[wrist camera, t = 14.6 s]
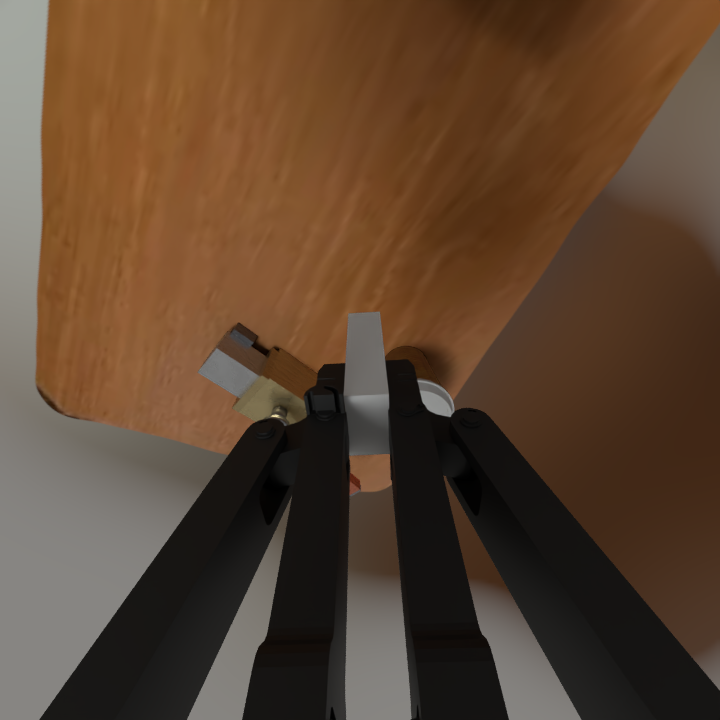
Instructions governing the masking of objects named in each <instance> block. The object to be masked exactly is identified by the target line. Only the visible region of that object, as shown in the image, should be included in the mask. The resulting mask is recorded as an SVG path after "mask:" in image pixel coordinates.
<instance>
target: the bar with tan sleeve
mask: <svg viewBox="0 0 720 720" xmlns="http://www.w3.org/2000/svg"><path fill="white" fill-rule="evenodd" d="M256 337H257V335H256V334H254V333H253V332H251V331H250V330H248V329H247V328H246V327H244V326H243V325H241V324H240V323H238V324H237V325H236V326H235V328H234V329H233V330H232V331H231V332H229V331H227V333H226V334H225V335H224V336H223V338H222V339H221V340H220V341H219V343H218V344H217V345H216V347H215V348H214V349H213V350H212V352H211V353H210V354H209V356H208V357H207V359H206V360H205V362H204V363H203V365H202V366H201V368H200V369H199V371H198V373H199V374H201V375H203V376H204V377H206V378H208V379H209V380H211V381H212V382H214V383H216V384H217V385H219V386H221V387H222V388H224V389H225V390H227V391H229V392H230V393H232V394H233V395H235V396H237V399H236V401H235V403H234V405H233V407H232V409H234V410H236V411H237V412H240V413H242V414H243V415H245V416H247V417H248V418H250V419H252V420H253V421H255V422H257V421H259V420H262V419H264V418H265V417H266V416H269V415H280V416H283V417H284V418H286V419H287V420H288V421H289V423H290V424H293V423H296V422H299V421H301V420H303V419H304V418H306V416H307V414H306V408H305V402H304V394H305V392H306V391H307V390H308V389H309V388H311V387H313V386H316V382H317V376H318V374H317V373H315V372H314V371H312V370H311V369H310V368H308V367H307V366H305V365H304V364H303V363H301V362H300V361H298V360H297V359H295V358H294V357H293V356H291V355H290V354H288V353H287V352H285V351H284V350H283V349H281V348H280V349H279V350H278V351H277V350H276V349H274V348H272V349H271V350H270V351H269V352H268V354H267V355H266V356H265V355H263V354H262V353H260V352H259V351H257V350H256V349H254V348H253V347H251V346H252V344H253V343H254V341H255V339H256Z"/></svg>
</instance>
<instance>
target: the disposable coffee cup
mask: <svg viewBox="0 0 720 720" xmlns="http://www.w3.org/2000/svg"><path fill="white" fill-rule="evenodd" d="M402 359H408V360H409V361H410V362H411V363H412V364H413V365H414V367H415V371H416V376H417V381H418V384H419V389H420V393H421V398H422V402H423V404H425V406H426V407H427V409H428V410H429V411H431V412H433V413H435V414H438V415H442V416H448V417H451V415H452V414H453V413H454V404H453V400H452V398H451V397H450V395H449V393H448V392H447V391H446V390H445V389H444V388H443V387H442V386H441V385H440V383H439V381H438V379H437V377H436V376H435V374H434V372H433V370H432V368H431V367H430V365H429V363H428V361H427V359H426V357H425V356H424V354H423V353H422V352H421V351H420V350H418V349H416V348H414V347H409V346H404V347H399V348H396V349H394V350H392V351H391V352H389V354H388V355H387V356H386V357H385V360H402Z"/></svg>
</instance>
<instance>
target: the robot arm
mask: <svg viewBox="0 0 720 720" xmlns="http://www.w3.org/2000/svg"><path fill="white" fill-rule="evenodd" d="M304 402H305V408H306V414H307V416H306V418H304V419H303V420H301V421H299V422H296V423H293V424H290V425H286V426H284V423H282V422H281V421H280V420H278V419H274V418H266V419H262V420H259V421H257V422H255V423H253V424H252V425H251V426H250V427H249V428H248V429H247V430H246V431H245V433H244V434H243V435H242V437H241V438H240V440H239V441H238V442H237V444H236V445H235V447H234V448H233V449H232V451H231V452H230V454H229V455H228V457H227V458H226V459H225V461H224V462H223V464H222V465H221V467H220V468H219V469H218V471H217V472H216V473H215V475H214V476H213V477H212V479H211V480H210V482H209V483H208V485H207V486H206V487H205V489H204V490H203V491H202V493H201V494H200V496H199V497H198V498H197V500H196V501H195V503H194V504H193V505H192V507H191V508H190V510H189V511H188V513H187V514H186V515H185V517H184V518H183V520H182V521H181V522H180V524H179V525H178V526H177V528H176V529H175V531H174V532H173V534H172V535H171V536H170V538H169V539H168V541H167V542H166V543H165V545H164V546H163V547H162V549H161V550H160V552H159V553H158V554H157V556H156V557H155V559H154V560H153V561H152V563H151V564H150V566H149V567H148V568H147V570H146V571H145V573H144V574H143V575H142V577H141V578H140V580H139V581H138V582H137V584H136V585H135V587H134V588H133V589H132V591H131V592H130V594H129V595H128V596H127V598H126V599H125V601H124V602H123V603H122V605H121V606H120V608H119V609H118V610H117V612H116V613H115V615H114V616H113V617H112V619H111V621H110V622H109V623H108V624H107V626H106V627H105V629H104V630H103V631H102V633H101V634H100V636H99V637H98V638H97V640H96V641H95V643H94V644H93V645H92V647H91V648H90V650H89V651H88V653H87V654H86V655H85V657H84V658H83V659H82V661H81V662H80V664H79V665H78V666H77V668H76V670H75V671H74V672H73V673H72V675H71V676H70V678H69V679H68V680H67V682H66V683H65V685H64V686H63V687H62V689H61V690H60V692H59V693H58V694H57V696H56V697H55V699H54V700H53V701H52V703H51V704H50V706H49V707H48V708H47V710H46V711H45V713H44V714H43V715H42V717H41V718H40V720H187V718H188V716H189V713H190V712H191V709H192V707H193V705H194V703H195V701H196V699H197V697H198V695H199V692H200V690H201V688H202V686H203V684H204V682H205V679H206V677H207V675H208V673H209V671H210V669H211V667H212V665H213V662H214V660H215V658H216V656H217V654H218V652H219V650H220V648H221V645H222V643H223V641H224V639H225V637H226V635H227V633H228V631H229V628H230V626H231V624H232V622H233V620H234V617H235V616H236V613H237V611H238V609H239V607H240V605H241V603H242V601H243V599H244V596H245V594H246V592H247V590H248V588H249V586H250V583H251V581H252V579H253V577H254V575H255V573H256V571H257V569H258V567H259V564H260V562H261V560H262V558H263V556H264V554H265V551H266V549H267V547H268V545H269V543H270V541H271V539H272V537H273V534H274V532H275V530H276V528H277V526H278V524H279V522H280V520H281V517H282V515H283V513H284V511H285V509H286V507H287V505H288V503H289V500H290V498H291V496H292V499H291V505H290V511H289V516H288V522H287V527H286V533H285V538H284V544H283V549H282V555H281V561H280V566H279V572H278V577H277V583H276V588H275V594H274V599H273V605H272V610H271V617H270V622H269V627H268V632H267V636H266V638H265V641H264V642H263V643H262V644H261V645H260V646H259V648H258V650H257V653H256V655H255V660H254V664H253V668H252V673H251V678H250V683H249V688H248V693H247V698H246V703H245V708H244V713H243V719H242V720H346V704H345V663H346V622H347V580H348V537H349V497H350V460H349V453H350V456H351V455H374V454H390V470H391V480H392V489H393V501H394V511H395V523H396V535H397V546H398V558H399V569H400V580H401V592H402V603H403V613H404V625H405V637H406V648H407V660H408V671H409V683H410V696H411V697H410V698H411V716H412V719H411V720H509V718H508V714H507V710H506V707H505V702H504V698H503V694H502V690H501V686H500V683H499V679H498V674H497V670H496V666H495V662H494V659H493V655H492V652H491V648H490V646H489V644H488V641H487V639H486V638H485V637H484V636H483V635H482V633H481V631H480V628H479V624H478V621H477V616H476V612H475V608H474V604H473V600H472V595H471V591H470V587H469V583H468V579H467V574H466V570H465V566H464V562H463V558H462V553H461V549H460V545H459V541H458V536H457V533H456V528H455V524H454V519H453V515H452V511H451V507H450V502H449V498H448V494H447V490H446V486H445V481H444V477H443V475H444V476H446V478H447V481H448V482H449V484H450V486H451V488H452V490H453V491H454V493H455V495H456V497H457V499H458V500H459V502H460V504H461V506H462V508H463V509H464V511H465V513H466V515H467V516H468V518H469V520H470V522H471V524H472V525H473V527H474V529H475V530H476V532H477V534H478V536H479V538H480V539H481V541H482V543H483V545H484V547H485V548H486V550H487V552H488V554H489V556H490V557H491V559H492V561H493V563H494V565H495V566H496V568H497V570H498V572H499V573H500V575H501V577H502V579H503V580H504V582H505V584H506V586H507V587H508V589H509V591H510V593H511V595H512V596H513V598H514V600H515V602H516V604H517V605H518V607H519V609H520V611H521V613H522V614H523V616H524V618H525V620H526V621H527V623H528V625H529V627H530V629H531V630H532V632H533V634H534V636H535V637H536V639H537V641H538V643H539V645H540V646H541V648H542V650H543V652H544V653H545V655H546V657H547V659H548V660H549V662H550V664H551V666H552V668H553V669H554V671H555V673H556V675H557V676H558V678H559V680H560V682H561V684H562V686H563V687H564V689H565V691H566V692H567V694H568V696H569V698H570V700H571V701H572V703H573V705H574V707H575V709H576V710H577V712H578V714H579V716H580V718H581V719H582V720H720V690H719V689H718V688H717V687H716V686H715V684H714V683H713V682H712V681H711V680H710V679H709V677H708V676H707V675H706V674H705V673H704V671H703V670H702V669H701V668H700V667H699V665H698V664H697V663H696V662H695V661H694V660H693V658H691V656H690V655H689V654H688V652H687V651H686V650H685V649H684V648H683V646H682V645H681V644H680V643H679V642H678V640H677V639H676V638H675V637H674V636H673V634H672V633H671V632H670V631H669V630H668V629H667V627H666V626H665V625H664V624H663V623H662V621H661V620H660V619H659V618H658V617H657V616H656V614H655V613H654V612H653V611H652V610H651V608H650V607H649V606H648V605H647V604H646V602H645V601H644V600H643V599H642V598H641V596H640V595H639V594H638V593H637V592H636V590H635V589H634V588H633V587H632V586H631V584H630V583H629V582H628V581H627V580H626V579H625V577H624V576H623V575H622V574H621V573H620V571H619V570H618V569H617V568H616V567H615V565H614V564H613V563H612V562H611V561H610V560H609V558H608V557H607V556H606V555H605V554H604V552H603V551H602V550H601V549H600V548H599V546H598V545H597V544H596V543H595V542H594V541H593V539H592V538H591V537H590V536H589V535H588V533H587V532H586V531H585V530H584V529H583V528H582V526H581V525H580V524H579V523H578V521H577V520H576V519H575V518H574V517H573V515H572V514H571V513H570V512H569V511H568V510H567V508H566V507H565V506H564V505H563V504H562V502H560V500H559V499H558V498H557V496H556V495H555V494H554V493H553V492H552V490H550V488H549V487H548V486H547V485H546V483H545V482H544V481H543V480H542V479H541V477H540V476H539V475H538V474H537V473H536V471H535V470H534V469H533V468H532V467H531V466H530V464H529V463H528V462H527V461H526V460H525V458H524V457H523V456H522V455H521V454H520V452H519V451H518V450H517V449H516V448H515V446H514V445H513V444H512V443H511V442H510V441H509V439H508V438H507V437H506V436H505V434H504V433H503V432H502V431H501V430H500V429H499V427H498V426H497V425H496V424H495V423H494V421H493V420H492V419H491V418H490V417H489V416H488V415H487V414H486V413H484V412H482V411H480V410H478V409H473V408H461V409H459V410H457V411H455V412H454V413H453V414H452V415H451V417H448V416H442V415H438V414H435V413H433V412H431V411H429V410H428V409H427V407H426V406H425V404H423V402H422V398H421V393H420V389H419V384H418V381H417V376H416V371H415V367H414V365H413V364H412V363H411V362H410V361H409V360H408V359H402V360H385V355H384V346H383V337H382V328H381V318H380V312H367V313H349V314H348V331H347V348H346V363H341V364H324V365H323V367H322V368H321V369H320V370H319V371H318V376H317V382H316V386H313V387H311V388H309V389H308V390H307V391H306V392H305V394H304Z"/></svg>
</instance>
